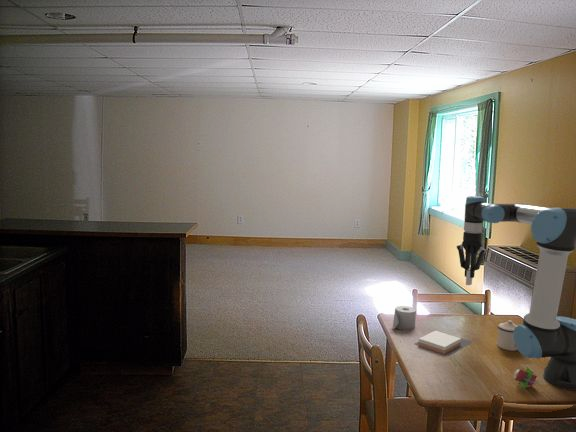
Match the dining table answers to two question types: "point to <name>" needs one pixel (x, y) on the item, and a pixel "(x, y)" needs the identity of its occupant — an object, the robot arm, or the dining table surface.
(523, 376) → the geometric puzzle
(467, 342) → the mat
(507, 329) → the teacup with lid
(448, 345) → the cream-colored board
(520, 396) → the dining table surface
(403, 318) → the toilet tissue
